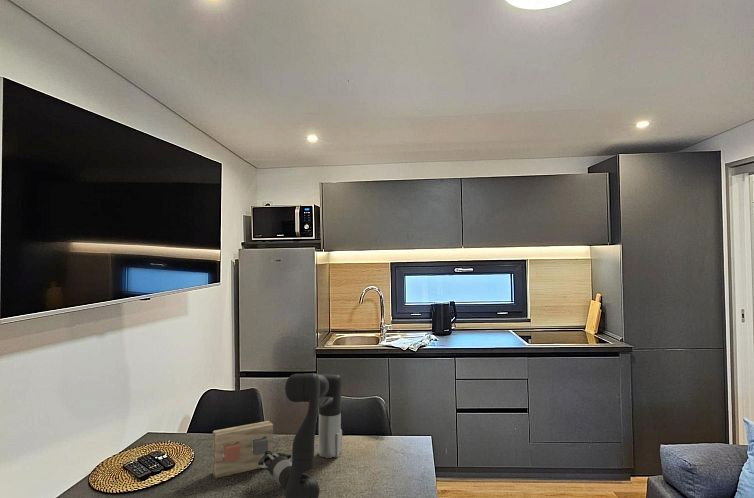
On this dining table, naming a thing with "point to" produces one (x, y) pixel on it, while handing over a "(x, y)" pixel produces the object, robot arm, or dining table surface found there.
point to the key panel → (244, 439)
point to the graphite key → (260, 446)
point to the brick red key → (231, 452)
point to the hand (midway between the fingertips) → (267, 453)
